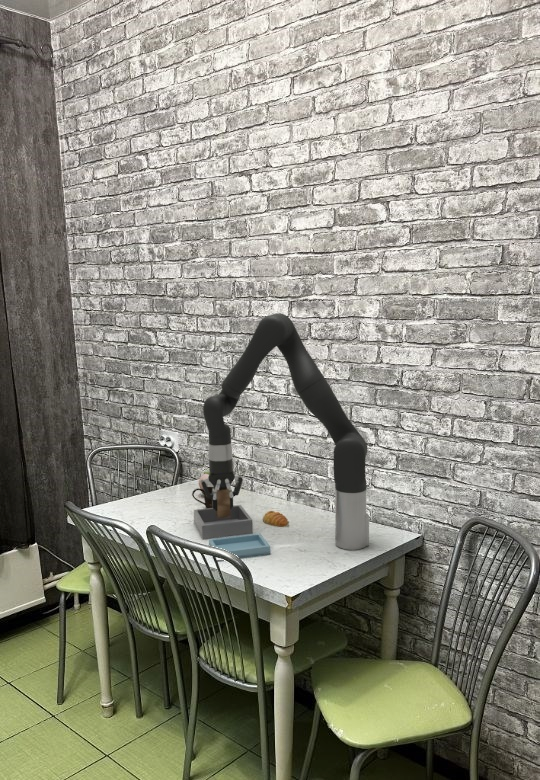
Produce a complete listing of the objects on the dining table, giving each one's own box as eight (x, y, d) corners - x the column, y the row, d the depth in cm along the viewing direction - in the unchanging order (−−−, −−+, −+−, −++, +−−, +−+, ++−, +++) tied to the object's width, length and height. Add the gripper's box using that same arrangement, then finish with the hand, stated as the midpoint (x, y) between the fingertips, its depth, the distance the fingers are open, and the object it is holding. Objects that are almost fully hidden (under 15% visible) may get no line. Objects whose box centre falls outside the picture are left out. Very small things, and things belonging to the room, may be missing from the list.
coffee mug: (229, 507, 227) (228, 480, 225) (225, 514, 218) (224, 486, 217) (197, 506, 228) (196, 479, 226) (192, 514, 219) (191, 486, 218)
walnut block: (227, 512, 206) (226, 486, 204) (230, 516, 202) (229, 489, 201) (215, 514, 205) (214, 487, 203) (218, 518, 201) (217, 490, 200)
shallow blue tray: (260, 541, 193) (260, 533, 193) (270, 554, 183) (270, 546, 183) (209, 547, 189) (208, 539, 189) (216, 561, 179) (215, 553, 178)
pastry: (294, 526, 206) (293, 515, 206) (278, 531, 202) (277, 520, 202) (276, 519, 214) (275, 508, 213) (260, 523, 209) (260, 512, 209)
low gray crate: (241, 518, 214) (240, 504, 213) (252, 535, 198) (252, 519, 198) (194, 524, 209) (193, 509, 209) (202, 541, 194) (202, 525, 193)
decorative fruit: (194, 496, 240) (193, 470, 238) (209, 491, 246) (208, 466, 245) (211, 501, 234) (210, 474, 232) (226, 495, 240) (226, 470, 239)
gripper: (200, 462, 195) (203, 515, 197) (245, 457, 199) (247, 510, 201) (196, 456, 202) (199, 508, 205) (239, 452, 206) (241, 503, 208)
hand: (222, 509), depth 203 cm, fingers closed on walnut block, 4 cm apart
